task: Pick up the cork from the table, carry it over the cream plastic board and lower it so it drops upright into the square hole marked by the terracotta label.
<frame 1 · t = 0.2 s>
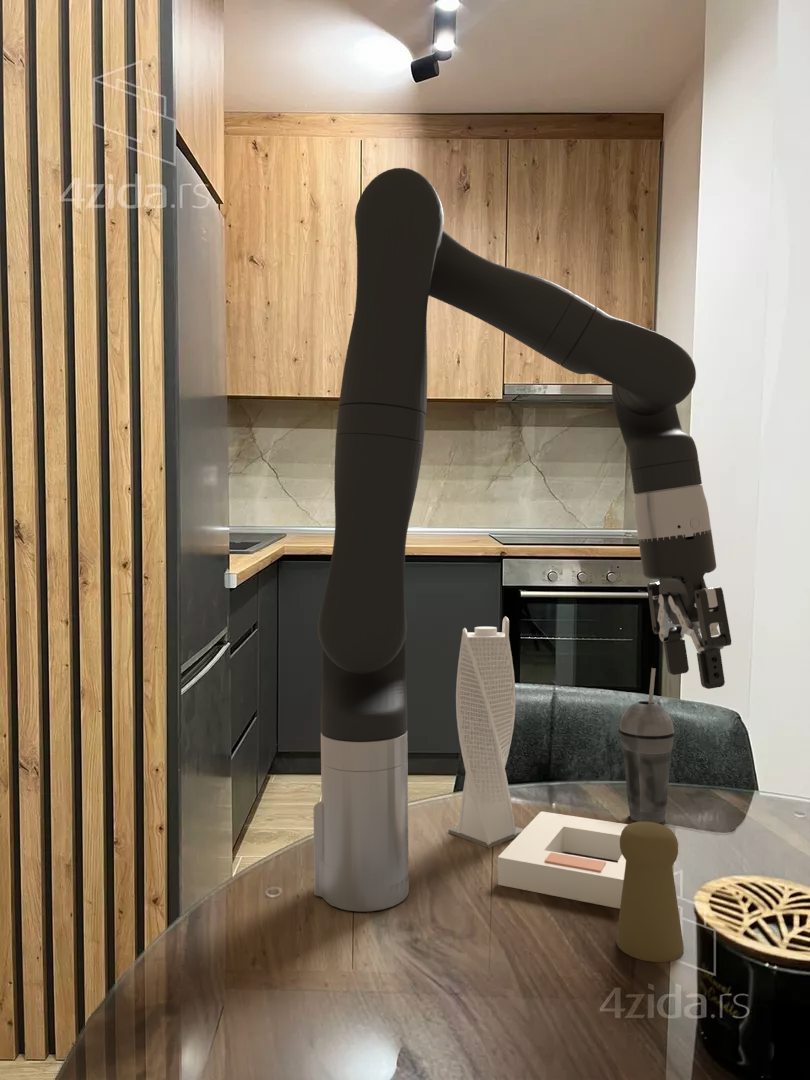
hand: (695, 680, 86), 22 cm above the table, tool pointing down, fingers open, 8 cm apart
cork: (649, 946, 74), on the table
beverage cup: (647, 819, 107), on the table
hole board: (588, 870, 90), on the table
skyscraper: (488, 837, 101), on the table
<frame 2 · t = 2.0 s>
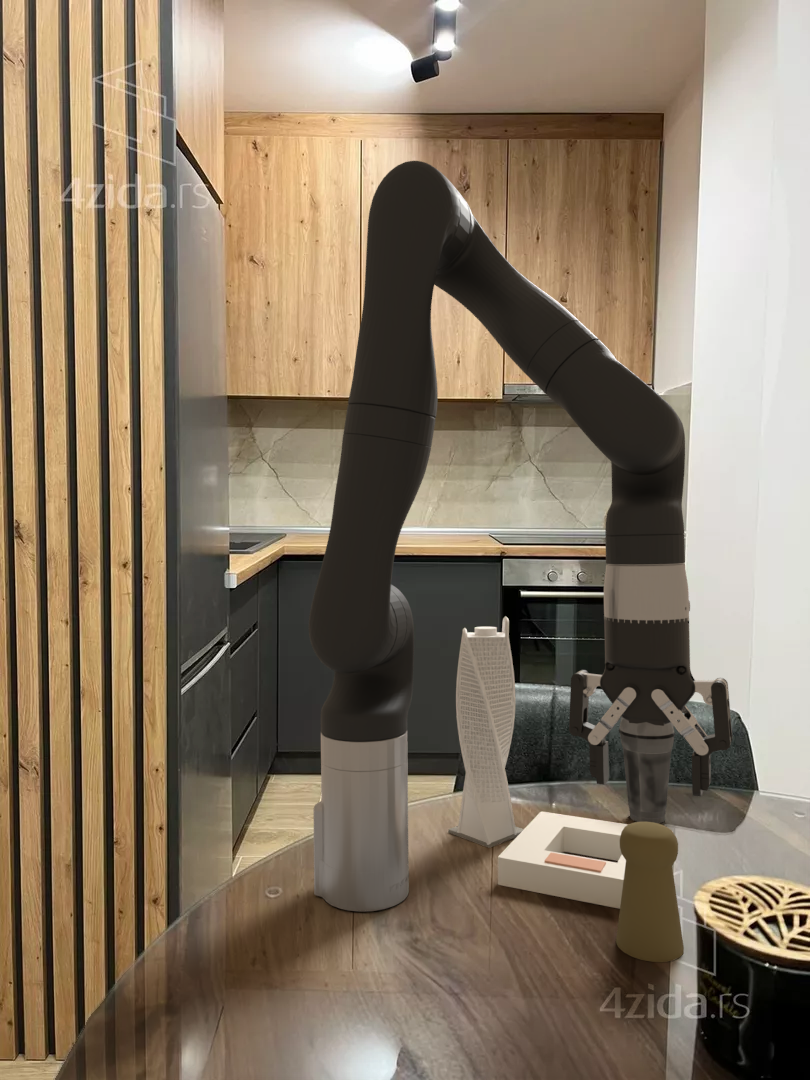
hand: (649, 788, 74), 14 cm above the table, tool pointing down, fingers open, 8 cm apart
nothing on the table moved.
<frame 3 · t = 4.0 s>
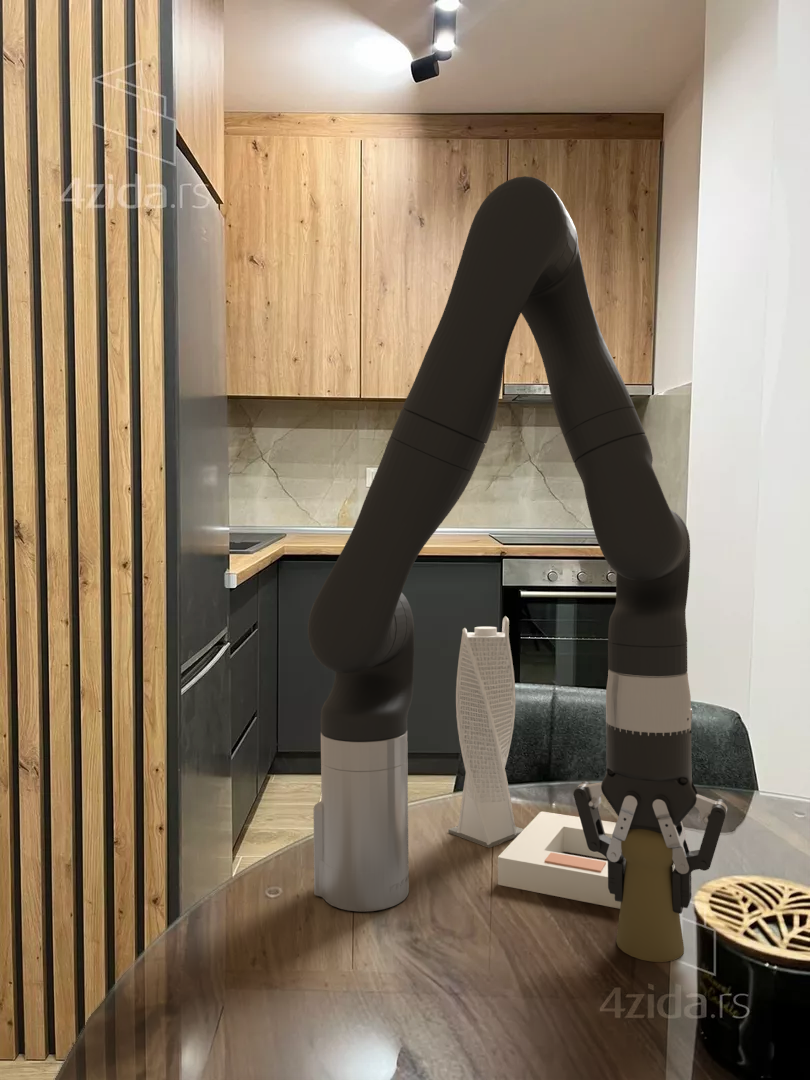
hand: (649, 903, 74), 4 cm above the table, tool pointing down, fingers closed on cork, 4 cm apart
cork: (649, 946, 74), on the table, touching gripper
everything else where it was.
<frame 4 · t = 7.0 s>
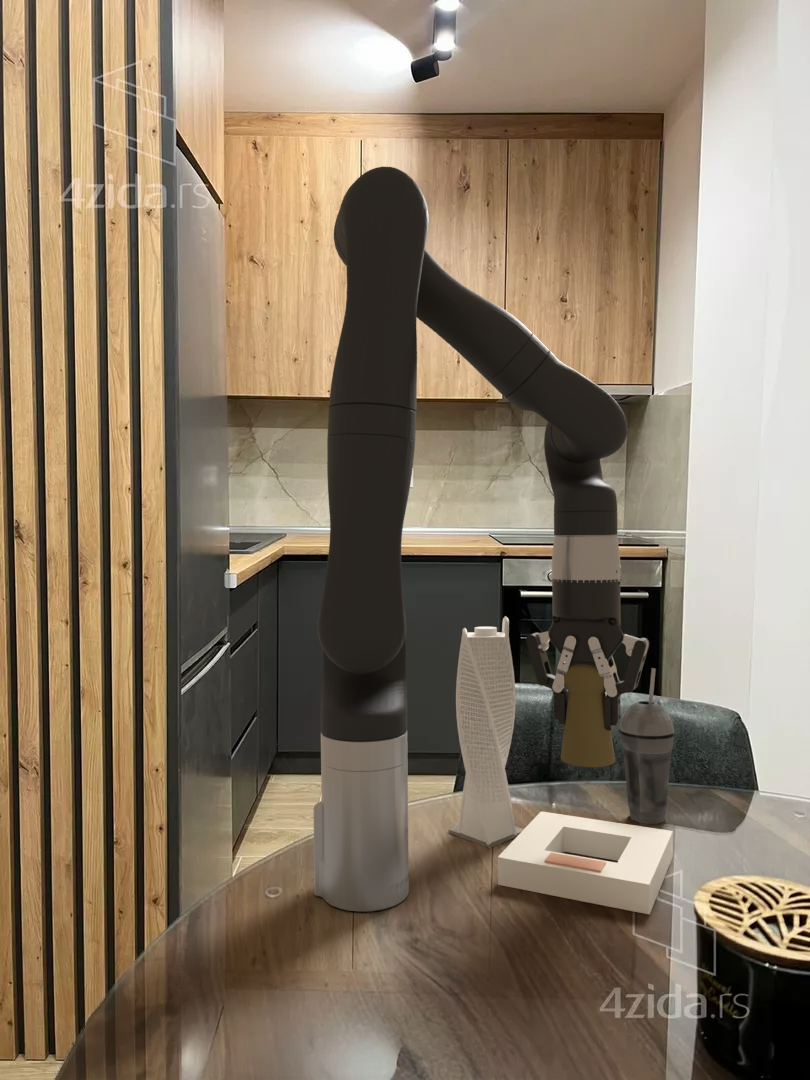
hand: (587, 725, 90), 16 cm above the table, tool pointing down, fingers closed on cork, 4 cm apart
cork: (587, 761, 90), point 12 cm above the table, touching gripper
everything else where it was.
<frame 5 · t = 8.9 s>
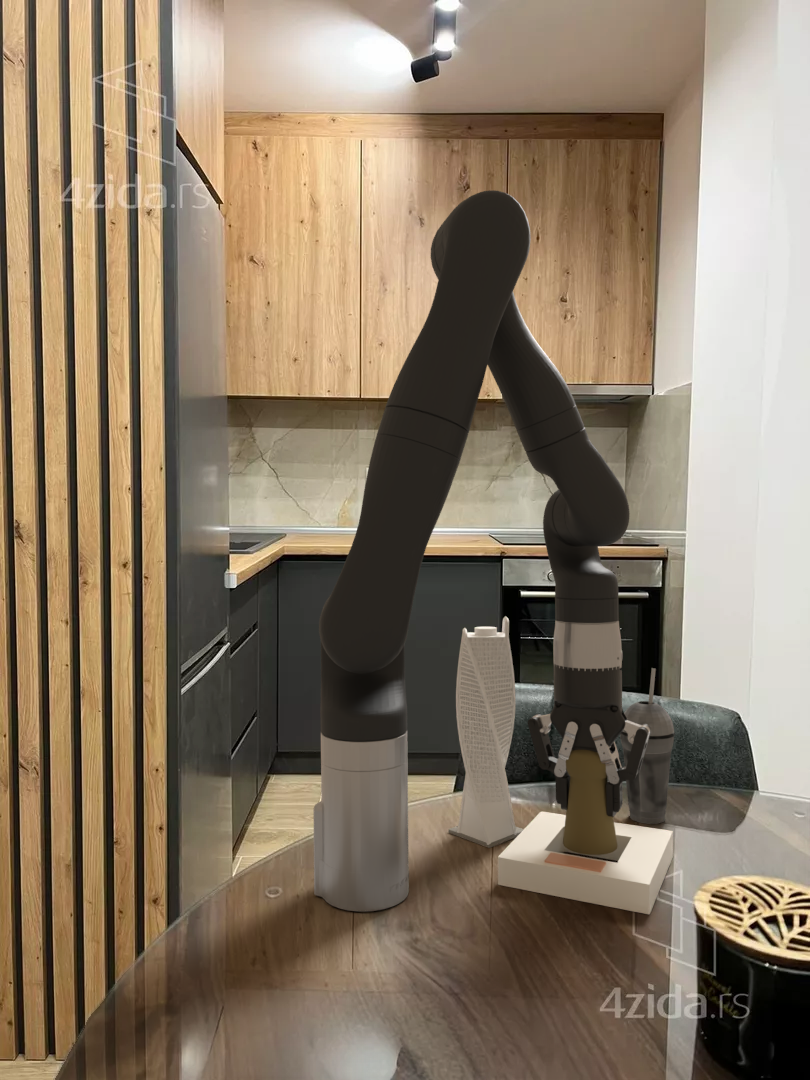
hand: (589, 810, 90), 7 cm above the table, tool pointing down, fingers closed on cork, 4 cm apart
cork: (590, 846, 90), point 3 cm above the table, touching gripper
everything else where it was.
when the fingers open (6 cm above the table, at t = 10.4 s): cork drops 2 cm, resting in hole board.
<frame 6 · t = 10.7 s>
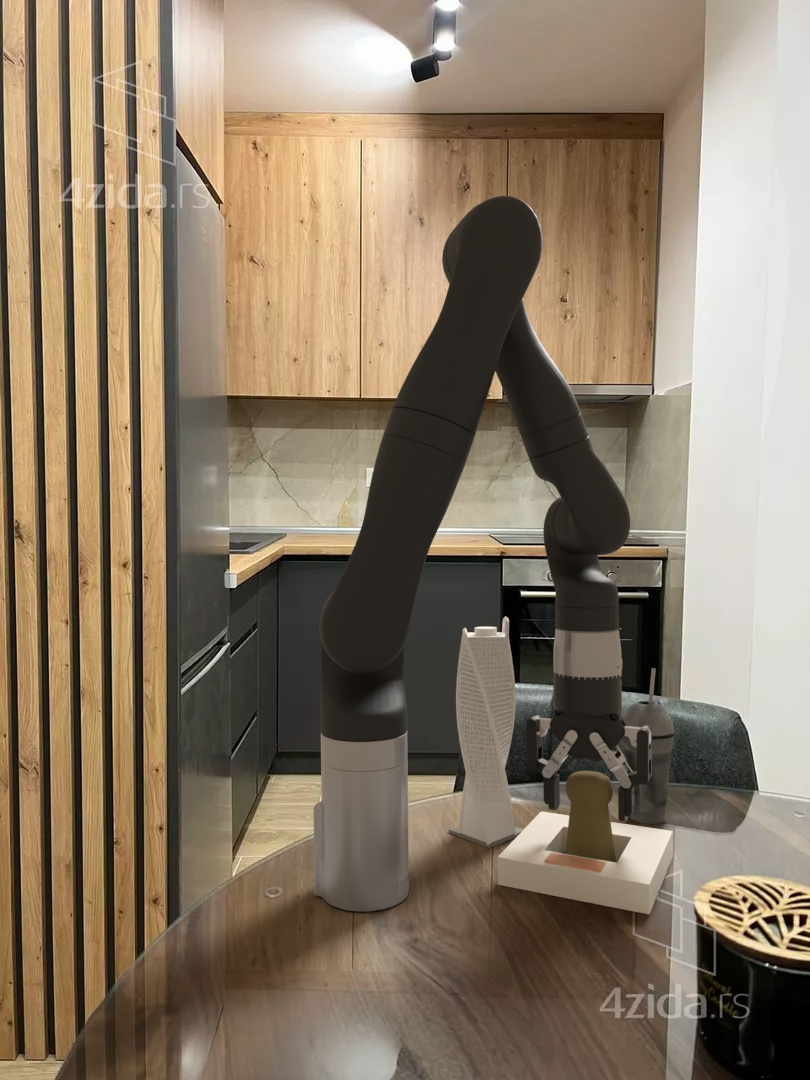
hand: (588, 813, 90), 6 cm above the table, tool pointing down, fingers open, 7 cm apart
cork: (590, 872, 90), resting in hole board
everything else where it was.
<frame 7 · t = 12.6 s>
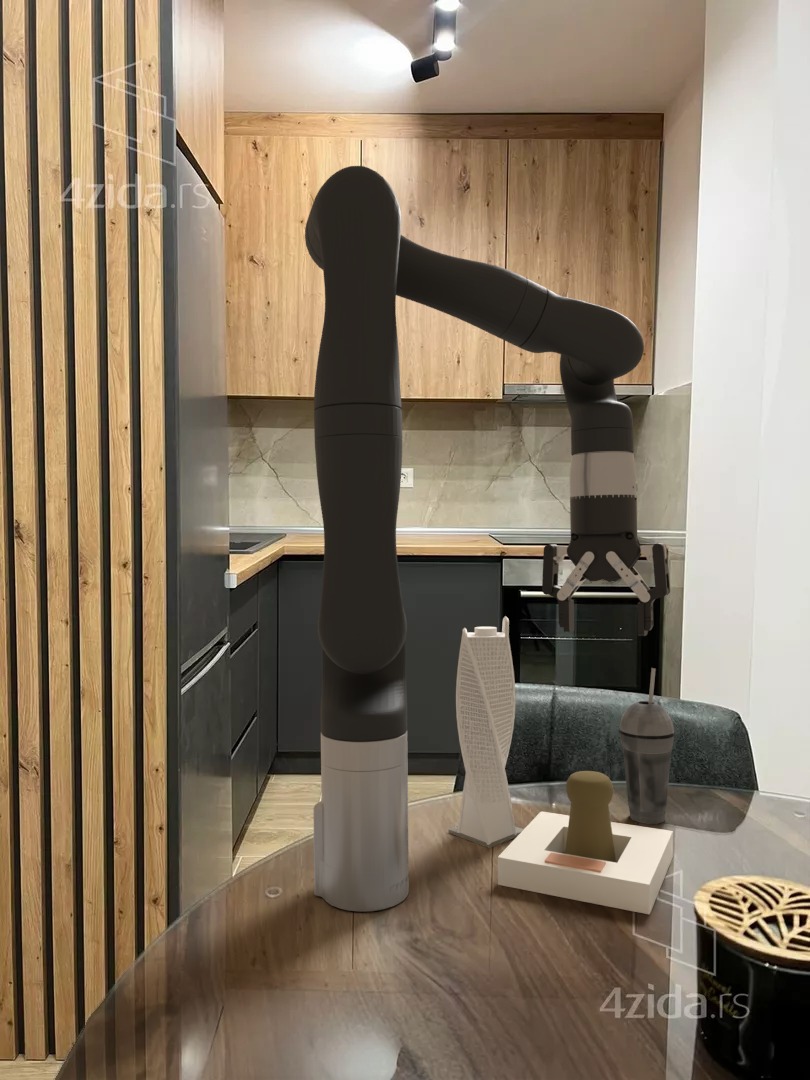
hand: (605, 633, 92), 27 cm above the table, tool pointing down, fingers open, 8 cm apart
nothing on the table moved.
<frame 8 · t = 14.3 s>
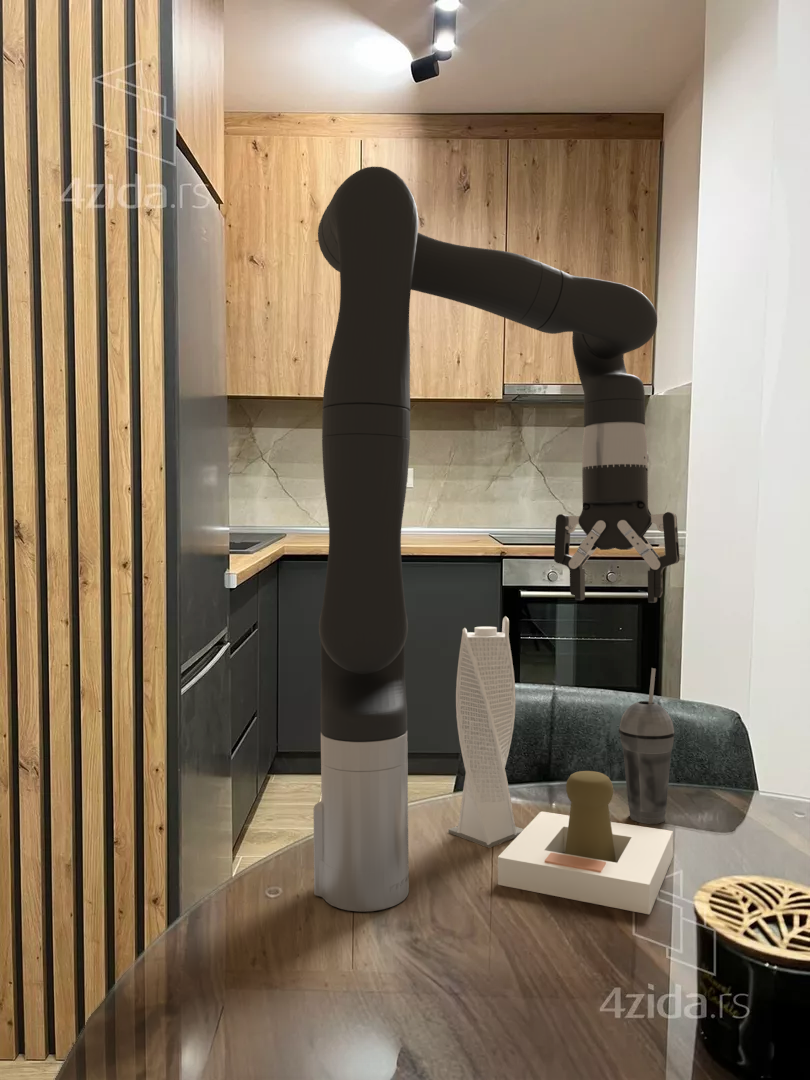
hand: (615, 600, 95), 30 cm above the table, tool pointing down, fingers open, 8 cm apart
nothing on the table moved.
at the end: cork 0.1 cm off-centre on the hole board, point 0.0 cm above the hole board's base; cork tilted 0°; the gripper is holding nothing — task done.
